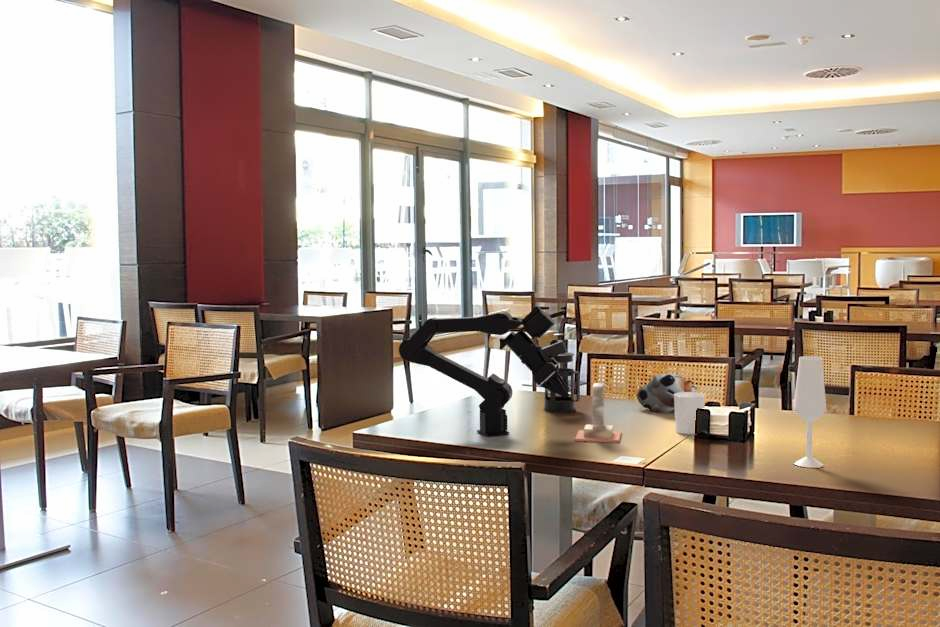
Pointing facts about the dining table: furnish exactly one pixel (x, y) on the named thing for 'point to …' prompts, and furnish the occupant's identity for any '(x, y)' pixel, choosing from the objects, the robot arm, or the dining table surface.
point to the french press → (561, 402)
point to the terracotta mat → (614, 439)
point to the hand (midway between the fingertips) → (567, 394)
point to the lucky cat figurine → (663, 392)
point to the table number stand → (598, 415)
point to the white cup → (687, 410)
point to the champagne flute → (809, 400)
